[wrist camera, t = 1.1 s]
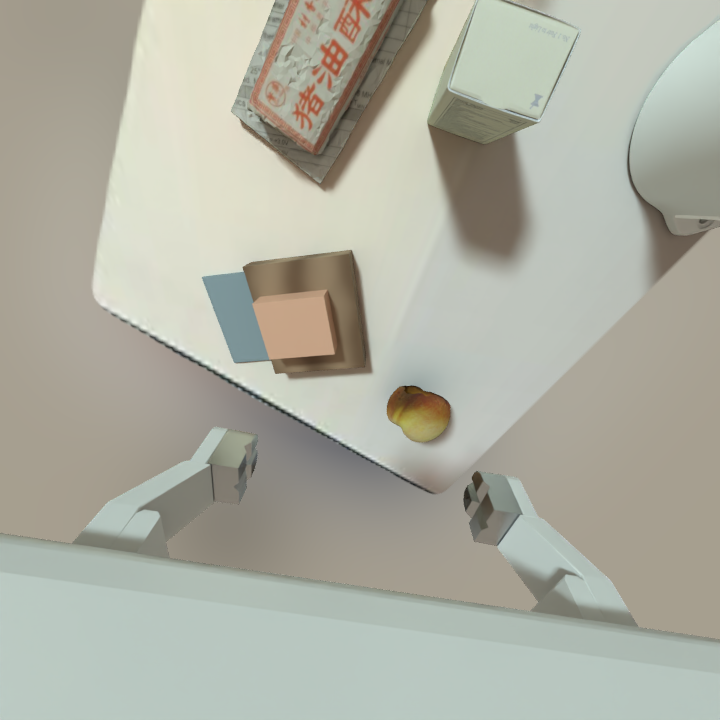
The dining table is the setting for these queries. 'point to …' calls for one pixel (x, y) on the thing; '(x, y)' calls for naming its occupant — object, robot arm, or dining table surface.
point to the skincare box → (501, 71)
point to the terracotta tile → (296, 324)
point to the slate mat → (236, 316)
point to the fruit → (418, 413)
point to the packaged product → (320, 73)
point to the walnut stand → (314, 276)
